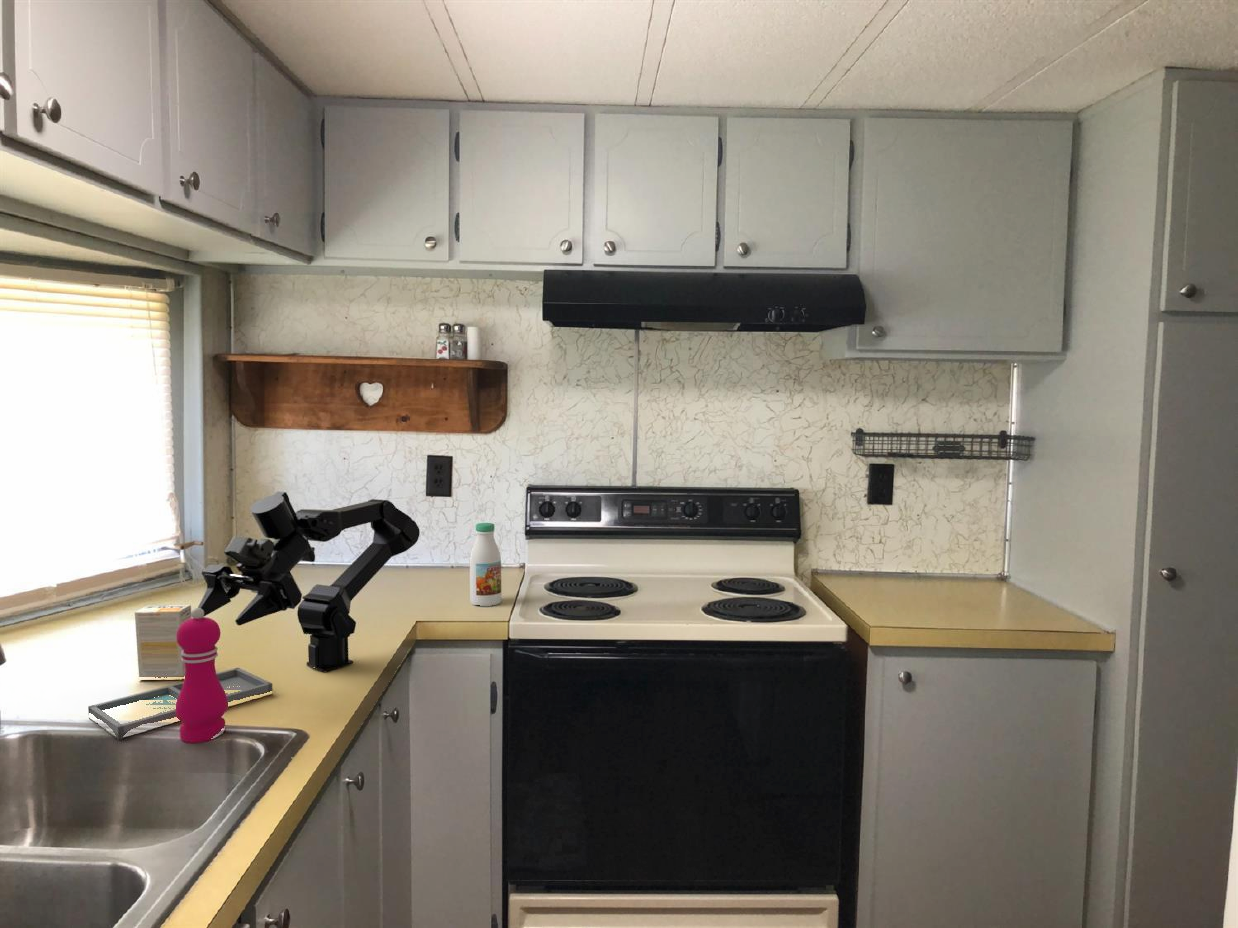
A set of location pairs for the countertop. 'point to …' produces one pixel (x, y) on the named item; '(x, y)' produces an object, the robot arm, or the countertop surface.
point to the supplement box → (160, 640)
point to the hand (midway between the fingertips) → (216, 620)
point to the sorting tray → (231, 678)
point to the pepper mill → (200, 680)
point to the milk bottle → (485, 568)
